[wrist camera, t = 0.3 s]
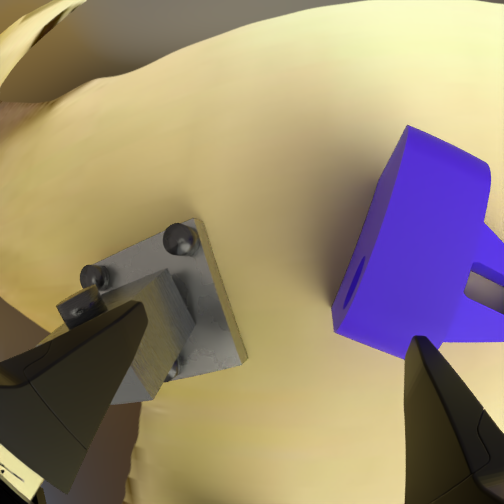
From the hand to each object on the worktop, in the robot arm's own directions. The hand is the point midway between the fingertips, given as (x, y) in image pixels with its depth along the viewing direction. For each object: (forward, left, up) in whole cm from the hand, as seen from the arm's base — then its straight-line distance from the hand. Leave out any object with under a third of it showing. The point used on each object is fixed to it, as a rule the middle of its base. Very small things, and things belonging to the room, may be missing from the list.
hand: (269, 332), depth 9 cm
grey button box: (+4, +12, -12) cm, 17 cm away
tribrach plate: (+2, +12, -15) cm, 19 cm away
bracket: (-4, -12, -15) cm, 20 cm away
